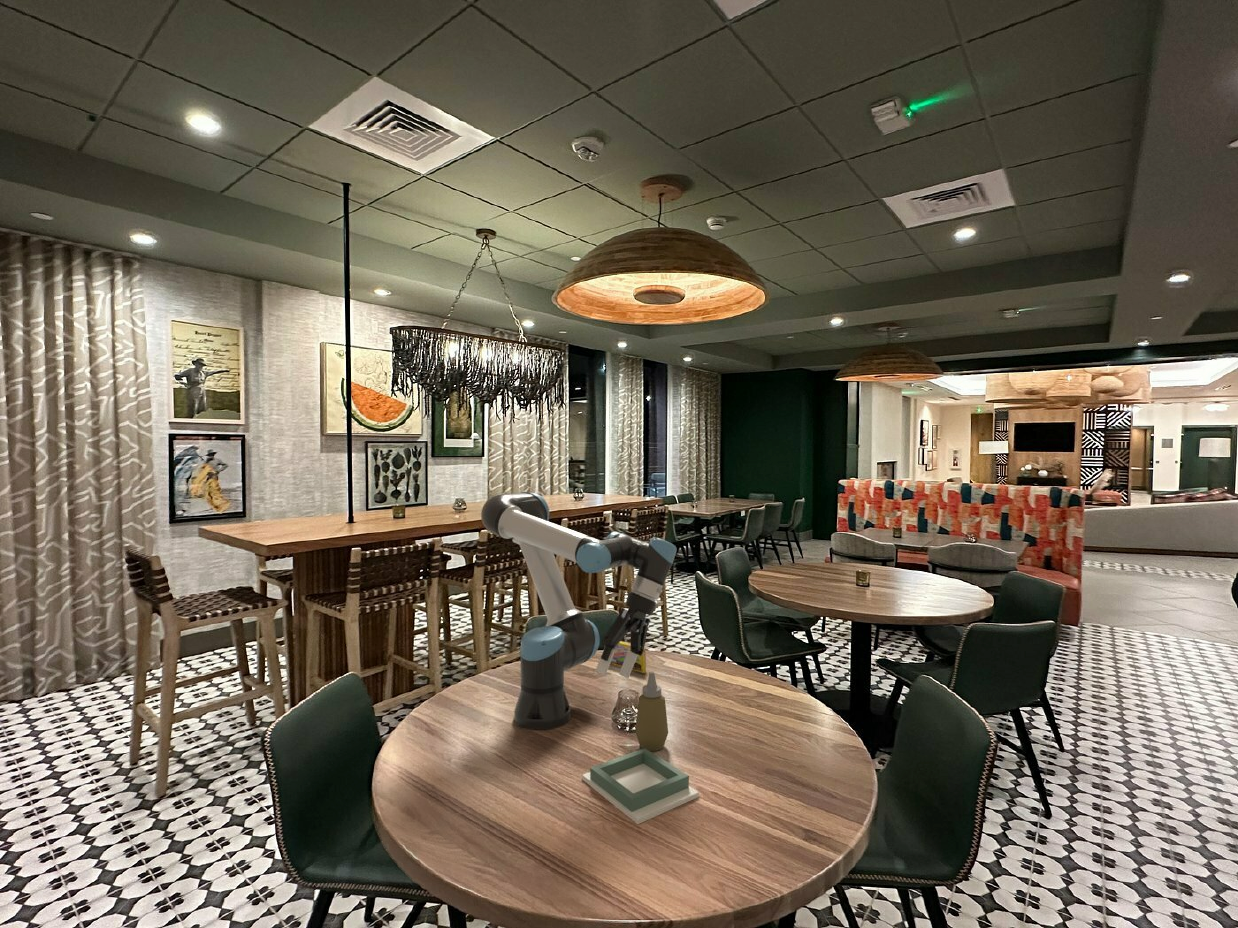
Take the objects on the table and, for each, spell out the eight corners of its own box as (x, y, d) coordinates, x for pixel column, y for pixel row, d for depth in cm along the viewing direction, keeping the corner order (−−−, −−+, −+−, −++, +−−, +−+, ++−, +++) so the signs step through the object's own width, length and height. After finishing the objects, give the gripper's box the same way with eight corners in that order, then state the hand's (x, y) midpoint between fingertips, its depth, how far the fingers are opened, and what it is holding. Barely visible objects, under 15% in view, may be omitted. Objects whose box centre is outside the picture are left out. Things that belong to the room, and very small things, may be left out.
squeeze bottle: (666, 755, 142) (666, 679, 142) (632, 752, 144) (632, 677, 144) (670, 740, 150) (670, 668, 150) (638, 737, 152) (638, 666, 152)
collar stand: (582, 779, 132) (582, 763, 132) (639, 758, 141) (639, 743, 141) (637, 824, 116) (637, 806, 116) (698, 796, 125) (698, 780, 125)
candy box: (605, 662, 208) (605, 638, 208) (609, 661, 209) (609, 637, 209) (642, 673, 197) (642, 648, 197) (646, 671, 199) (646, 646, 199)
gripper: (636, 592, 145) (602, 678, 141) (673, 608, 166) (644, 683, 162) (611, 582, 149) (577, 665, 145) (650, 598, 170) (621, 671, 166)
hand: (612, 674), depth 153 cm, fingers open, 13 cm apart
